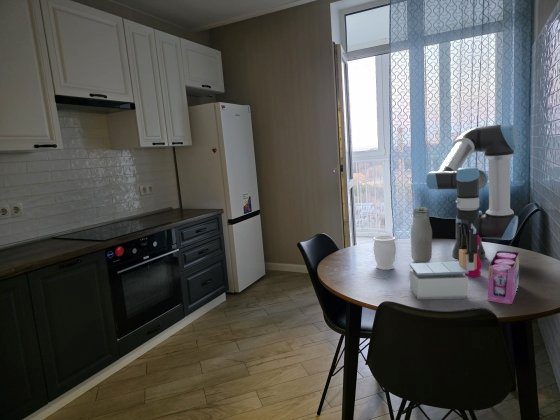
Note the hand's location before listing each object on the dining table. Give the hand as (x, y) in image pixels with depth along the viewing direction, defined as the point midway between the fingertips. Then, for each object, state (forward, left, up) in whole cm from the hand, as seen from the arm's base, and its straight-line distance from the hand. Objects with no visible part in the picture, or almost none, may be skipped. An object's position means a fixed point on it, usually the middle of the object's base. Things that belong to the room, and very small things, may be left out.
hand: (467, 268), depth 143 cm
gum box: (-13, +2, -10) cm, 16 cm away
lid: (+9, 0, 0) cm, 9 cm away
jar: (+25, -35, -10) cm, 44 cm away
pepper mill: (-10, -20, -10) cm, 24 cm away
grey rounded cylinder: (+6, -41, -10) cm, 43 cm away
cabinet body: (+11, 0, -10) cm, 15 cm away
